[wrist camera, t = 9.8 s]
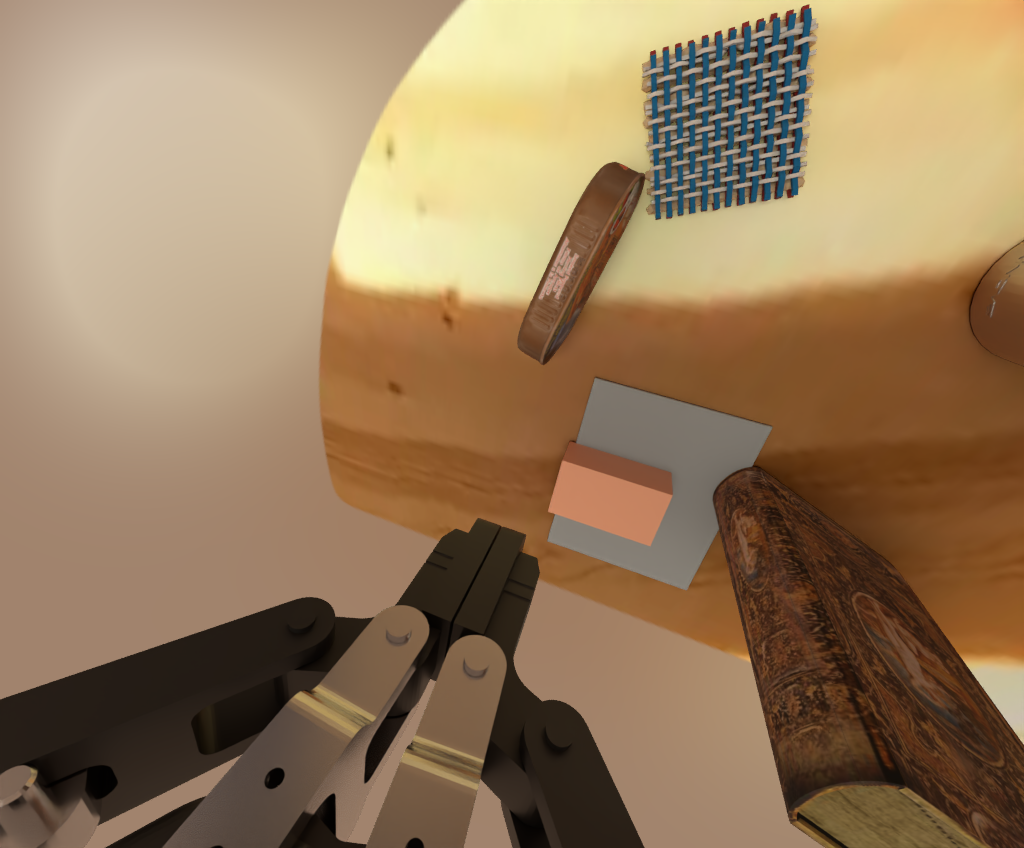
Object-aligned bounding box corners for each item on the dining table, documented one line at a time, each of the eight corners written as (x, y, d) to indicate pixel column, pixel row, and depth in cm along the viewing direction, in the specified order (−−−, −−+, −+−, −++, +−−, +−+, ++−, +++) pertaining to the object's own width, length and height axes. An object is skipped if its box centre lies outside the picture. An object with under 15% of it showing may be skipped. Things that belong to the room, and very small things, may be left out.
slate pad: (771, 425, 37) (772, 427, 37) (686, 588, 46) (686, 590, 46) (595, 377, 40) (594, 378, 40) (547, 539, 49) (547, 541, 49)
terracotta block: (569, 441, 43) (671, 472, 41) (556, 489, 46) (650, 520, 44) (562, 460, 40) (672, 495, 38) (547, 511, 42) (650, 546, 41)
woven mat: (815, 5, 27) (827, -10, 25) (800, 195, 31) (809, 194, 29) (640, 57, 30) (639, 47, 29) (646, 222, 34) (646, 222, 32)
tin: (559, 352, 40) (537, 381, 33) (529, 336, 40) (501, 361, 33) (650, 182, 33) (649, 170, 25) (613, 163, 33) (601, 145, 26)
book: (702, 497, 41) (766, 807, 19) (747, 458, 39) (880, 767, 17) (839, 596, 42) (1054, 1010, 20) (894, 565, 39) (1211, 1003, 17)
